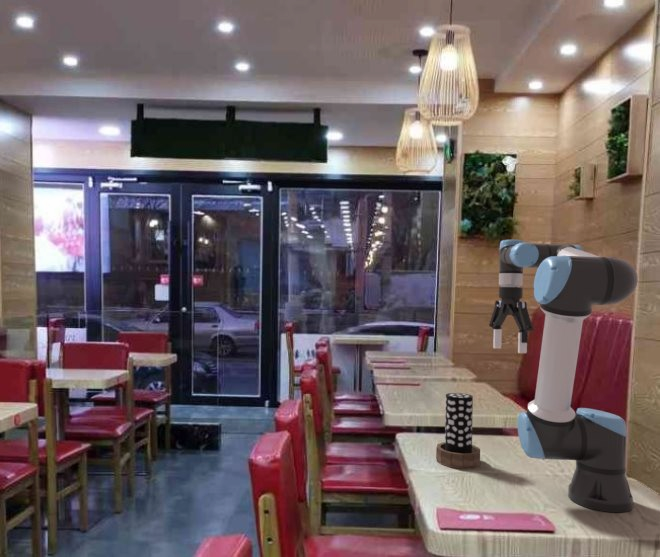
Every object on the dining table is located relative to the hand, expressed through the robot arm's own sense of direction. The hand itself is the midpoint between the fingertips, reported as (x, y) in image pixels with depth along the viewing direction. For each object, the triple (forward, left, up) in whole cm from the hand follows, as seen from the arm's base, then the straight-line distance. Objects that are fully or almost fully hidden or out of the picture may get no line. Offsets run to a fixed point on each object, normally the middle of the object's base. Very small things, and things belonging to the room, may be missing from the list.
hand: (509, 350), depth 178 cm
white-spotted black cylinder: (-2, +19, -34) cm, 39 cm away
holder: (-3, +19, -35) cm, 40 cm away
